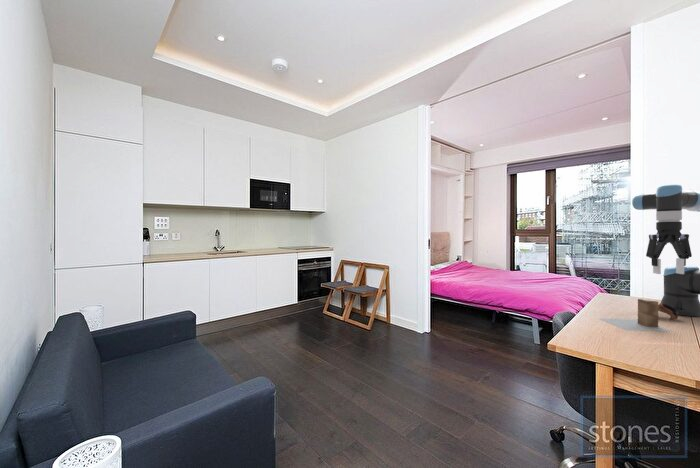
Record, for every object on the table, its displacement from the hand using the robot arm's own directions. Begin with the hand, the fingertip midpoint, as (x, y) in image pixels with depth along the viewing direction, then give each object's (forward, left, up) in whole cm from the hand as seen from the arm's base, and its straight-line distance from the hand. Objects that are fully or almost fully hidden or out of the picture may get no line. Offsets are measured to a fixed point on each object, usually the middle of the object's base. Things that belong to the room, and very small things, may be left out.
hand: (668, 273), depth 128 cm
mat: (+13, -1, -23) cm, 27 cm away
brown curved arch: (-7, -13, -24) cm, 28 cm away
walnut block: (+8, 0, -23) cm, 24 cm away
